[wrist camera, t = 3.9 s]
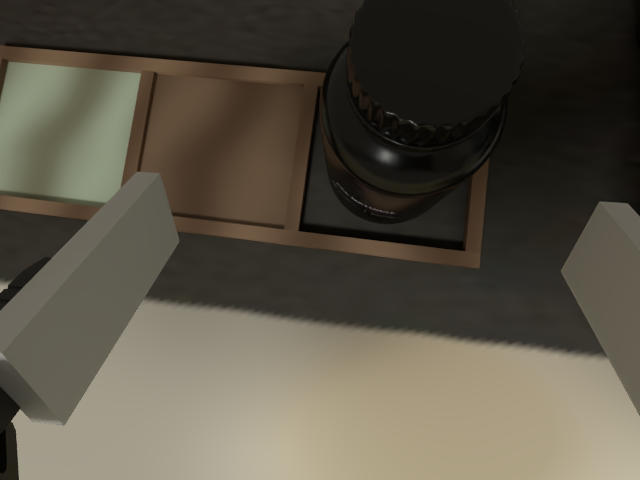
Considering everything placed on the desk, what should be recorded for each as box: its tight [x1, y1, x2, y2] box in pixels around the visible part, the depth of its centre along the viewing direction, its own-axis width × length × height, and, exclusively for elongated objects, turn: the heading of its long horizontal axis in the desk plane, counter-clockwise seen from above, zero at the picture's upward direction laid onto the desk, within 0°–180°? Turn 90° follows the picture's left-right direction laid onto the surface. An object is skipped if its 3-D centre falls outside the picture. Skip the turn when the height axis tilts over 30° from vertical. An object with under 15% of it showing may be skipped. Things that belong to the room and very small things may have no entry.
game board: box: [0, 46, 489, 268], centre depth 23 cm, size 31×10×1 cm, turn 83°
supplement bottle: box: [320, 0, 526, 224], centre depth 16 cm, size 7×7×12 cm
